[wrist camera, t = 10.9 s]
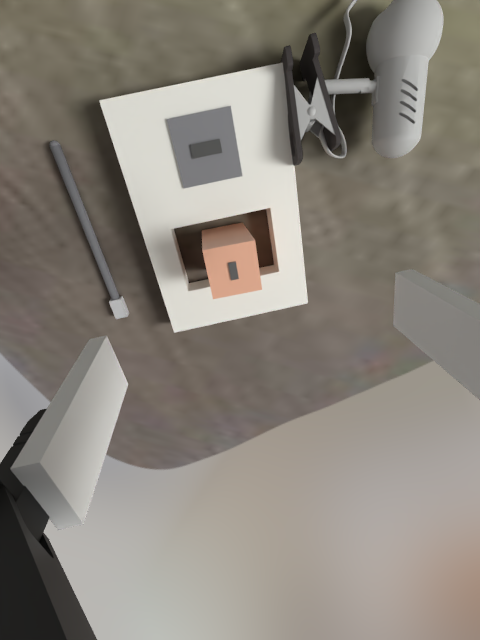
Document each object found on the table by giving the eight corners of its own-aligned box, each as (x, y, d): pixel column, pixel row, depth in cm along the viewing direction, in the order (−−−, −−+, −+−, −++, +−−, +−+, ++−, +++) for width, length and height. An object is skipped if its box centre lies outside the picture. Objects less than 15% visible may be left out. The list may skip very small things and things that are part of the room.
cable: (47, 142, 26) (42, 141, 26) (62, 139, 26) (57, 138, 26) (117, 315, 34) (115, 319, 33) (129, 313, 34) (127, 316, 33)
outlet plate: (107, 105, 26) (97, 99, 23) (277, 70, 26) (285, 60, 24) (175, 322, 35) (174, 334, 32) (301, 294, 35) (308, 304, 33)
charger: (201, 230, 31) (202, 250, 24) (242, 222, 31) (255, 240, 24) (210, 269, 33) (213, 299, 25) (248, 262, 33) (262, 290, 26)
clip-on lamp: (275, -85, 24) (277, 171, 28) (288, -197, 18) (288, 151, 22) (430, -90, 24) (409, 166, 28) (495, -205, 18) (457, 144, 22)
